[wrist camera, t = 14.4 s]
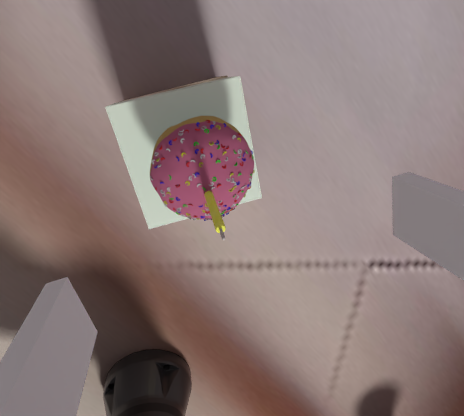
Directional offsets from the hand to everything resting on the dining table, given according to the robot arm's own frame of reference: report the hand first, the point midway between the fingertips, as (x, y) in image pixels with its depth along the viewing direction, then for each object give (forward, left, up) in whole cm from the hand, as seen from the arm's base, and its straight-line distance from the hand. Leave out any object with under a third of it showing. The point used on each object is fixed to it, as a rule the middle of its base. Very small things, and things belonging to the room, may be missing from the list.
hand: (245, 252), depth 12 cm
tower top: (0, 0, -25) cm, 25 cm away
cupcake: (0, 0, -19) cm, 19 cm away
